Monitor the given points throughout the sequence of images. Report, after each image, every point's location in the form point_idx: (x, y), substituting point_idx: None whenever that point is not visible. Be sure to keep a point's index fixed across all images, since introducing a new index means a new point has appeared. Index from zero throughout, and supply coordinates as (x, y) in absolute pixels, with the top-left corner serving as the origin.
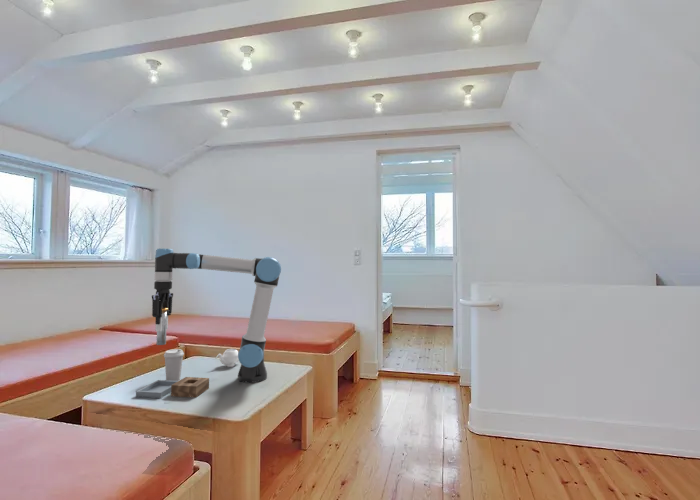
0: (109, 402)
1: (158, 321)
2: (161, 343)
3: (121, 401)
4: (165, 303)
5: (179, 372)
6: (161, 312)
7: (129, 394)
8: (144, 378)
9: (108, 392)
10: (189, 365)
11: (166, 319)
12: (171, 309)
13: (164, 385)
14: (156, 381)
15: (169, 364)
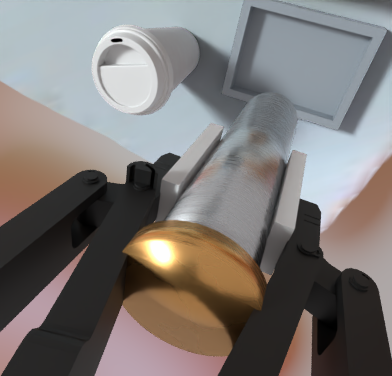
0: (366, 182)
1: (316, 223)
2: (295, 114)
3: (369, 153)
4: (99, 331)
5: (172, 29)
6: (280, 271)
7: (304, 149)
8: (160, 149)
9: None
10: (30, 47)
11: (227, 168)
12: (58, 191)
13: (244, 61)
14: (237, 94)
15: (179, 73)
